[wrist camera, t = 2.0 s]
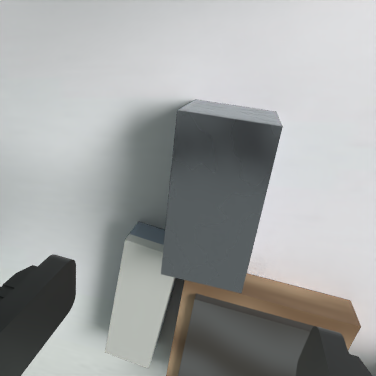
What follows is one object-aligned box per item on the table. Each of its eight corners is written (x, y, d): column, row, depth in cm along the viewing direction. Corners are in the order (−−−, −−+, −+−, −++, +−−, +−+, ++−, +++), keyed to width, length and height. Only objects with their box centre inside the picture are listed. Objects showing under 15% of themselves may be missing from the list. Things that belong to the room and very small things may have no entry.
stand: (191, 258, 23) (182, 284, 21) (350, 300, 22) (363, 334, 19) (171, 361, 28) (162, 392, 26) (300, 401, 27) (305, 439, 24)
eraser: (140, 219, 24) (125, 239, 21) (188, 235, 23) (179, 258, 20) (119, 324, 28) (104, 352, 26) (158, 339, 28) (148, 368, 25)
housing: (196, 99, 19) (177, 109, 14) (275, 111, 18) (282, 126, 14) (179, 233, 23) (160, 274, 18) (244, 246, 22) (241, 293, 18)
